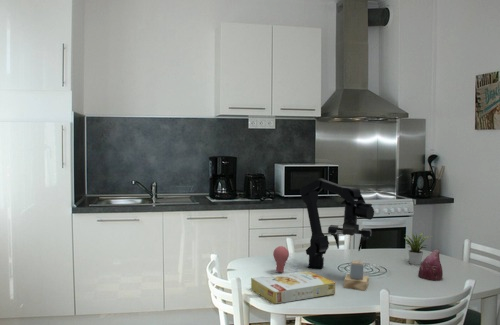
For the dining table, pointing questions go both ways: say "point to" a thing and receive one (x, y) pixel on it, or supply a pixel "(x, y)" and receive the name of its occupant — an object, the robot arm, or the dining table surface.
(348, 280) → the block
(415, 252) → the house plant
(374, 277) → the dining table surface
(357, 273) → the grey box
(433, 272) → the vegetable
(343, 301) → the dining table surface
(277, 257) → the light bulb
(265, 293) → the cereal box
